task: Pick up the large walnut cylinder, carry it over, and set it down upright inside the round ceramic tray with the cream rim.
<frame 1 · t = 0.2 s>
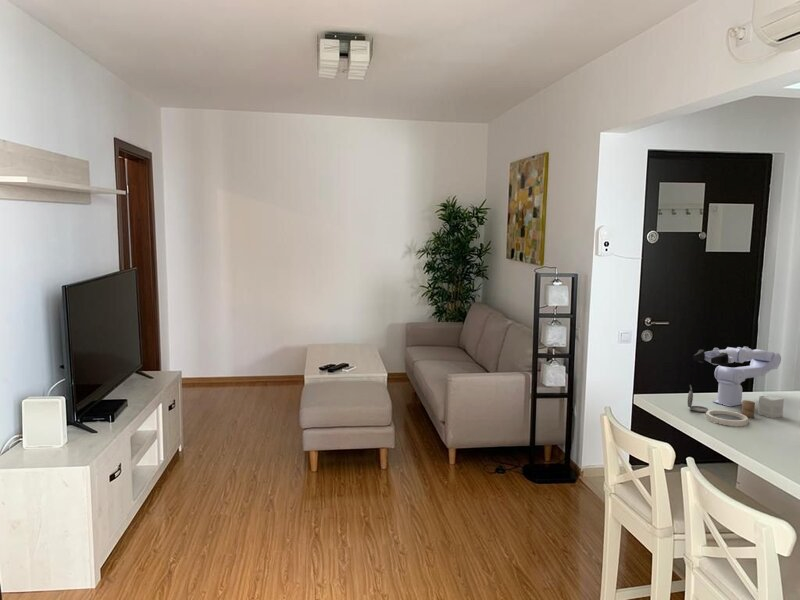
hand: (702, 359, 237), 21 cm above the breakfast bar, tool horizontal, fingers open, 7 cm apart
round tray: (726, 420, 227), on the breakfast bar
skincare box: (770, 415, 234), on the breakfast bar
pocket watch: (695, 410, 240), on the breakfast bar
walnut cylinder: (747, 416, 232), on the breakfast bar
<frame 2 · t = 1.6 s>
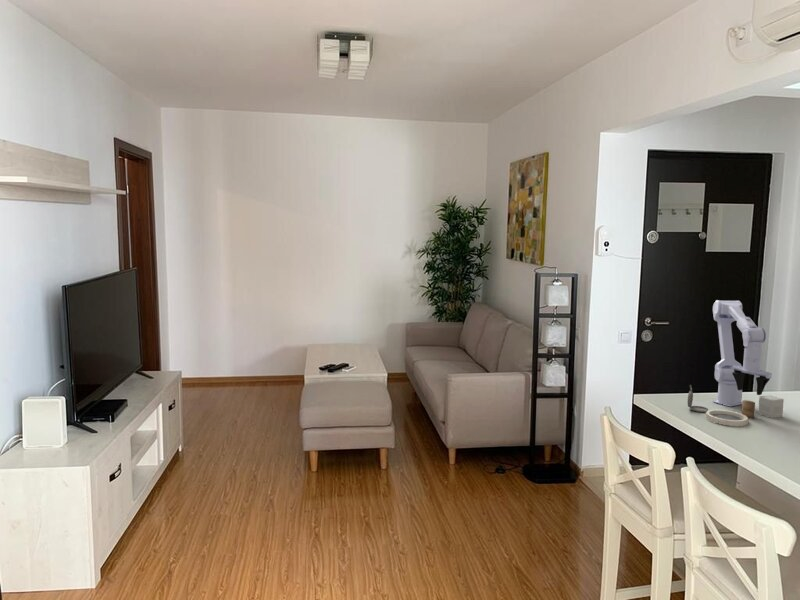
hand: (749, 392, 231), 10 cm above the breakfast bar, tool pointing down, fingers open, 7 cm apart
nothing on the breakfast bar moved.
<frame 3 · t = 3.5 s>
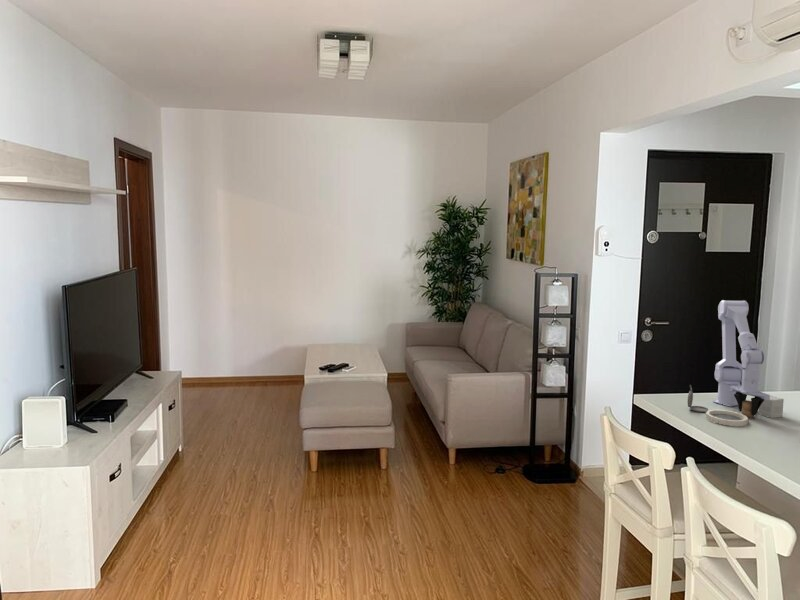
hand: (747, 413, 232), 1 cm above the breakfast bar, tool pointing down, fingers closed on walnut cylinder, 4 cm apart
walnut cylinder: (747, 416, 232), on the breakfast bar, touching gripper
everything else where it was.
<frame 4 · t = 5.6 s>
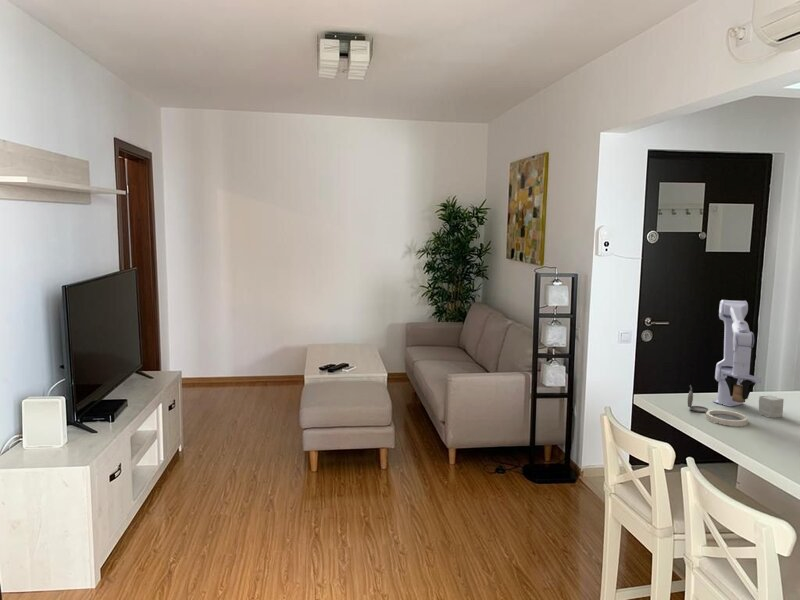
hand: (738, 397, 228), 9 cm above the breakfast bar, tool pointing down, fingers closed on walnut cylinder, 4 cm apart
walnut cylinder: (738, 400, 228), point 7 cm above the breakfast bar, touching gripper
everything else where it was.
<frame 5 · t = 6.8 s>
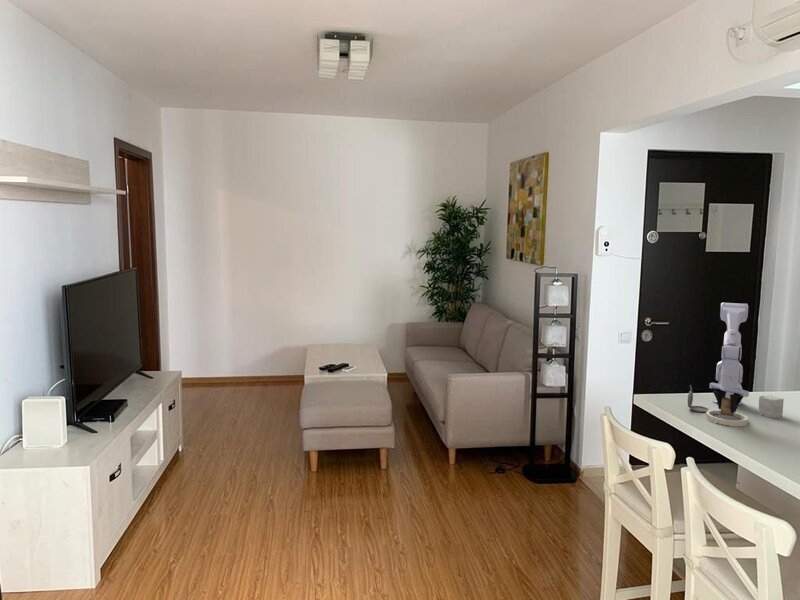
hand: (727, 410, 226), 4 cm above the breakfast bar, tool pointing down, fingers closed on walnut cylinder, 4 cm apart
walnut cylinder: (726, 414, 227), point 2 cm above the breakfast bar, touching gripper
everything else where it was.
when the fingers open (4 cm above the breakfast bar, at t = 7.7 s): walnut cylinder drops 1 cm, resting on round tray.
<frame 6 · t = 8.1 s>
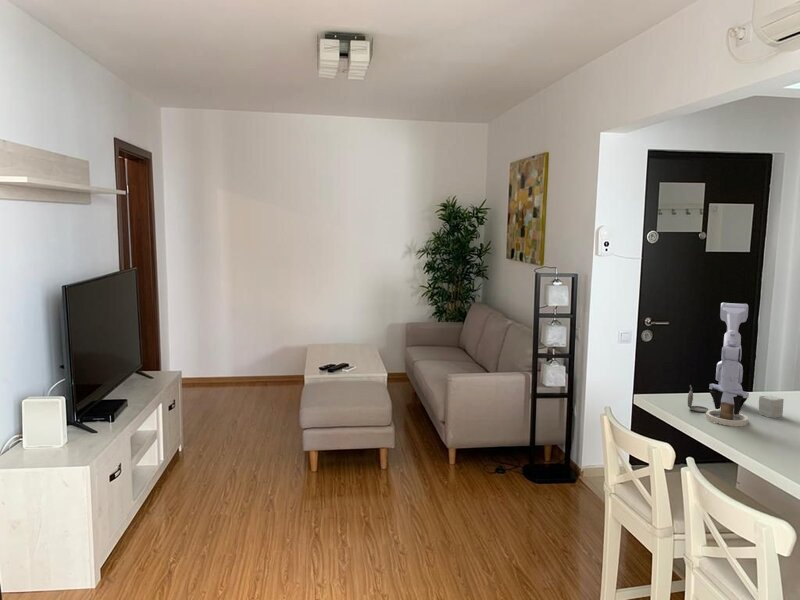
hand: (726, 411, 227), 4 cm above the breakfast bar, tool pointing down, fingers open, 7 cm apart
walnut cylinder: (726, 418, 227), point 1 cm above the breakfast bar, touching round tray
everything else where it was.
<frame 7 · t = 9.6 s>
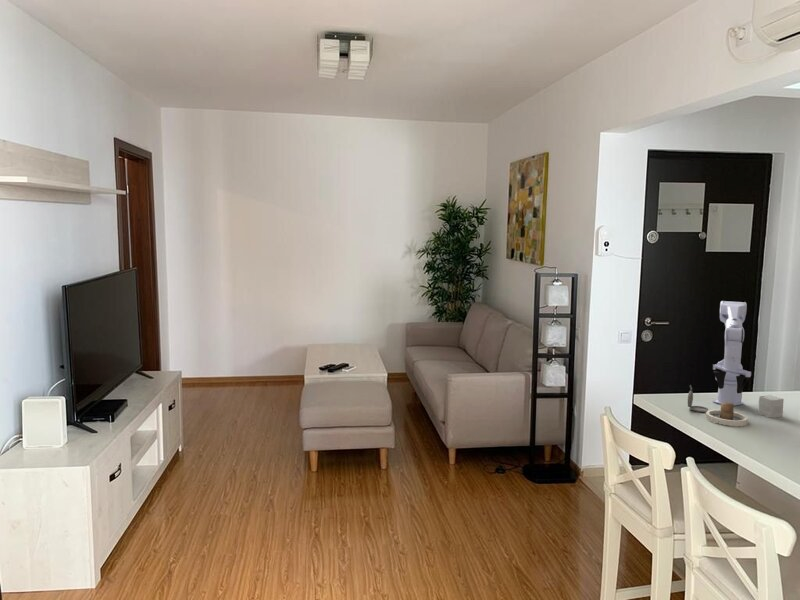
hand: (730, 390, 234), 9 cm above the breakfast bar, tool pointing down, fingers open, 7 cm apart
nothing on the breakfast bar moved.
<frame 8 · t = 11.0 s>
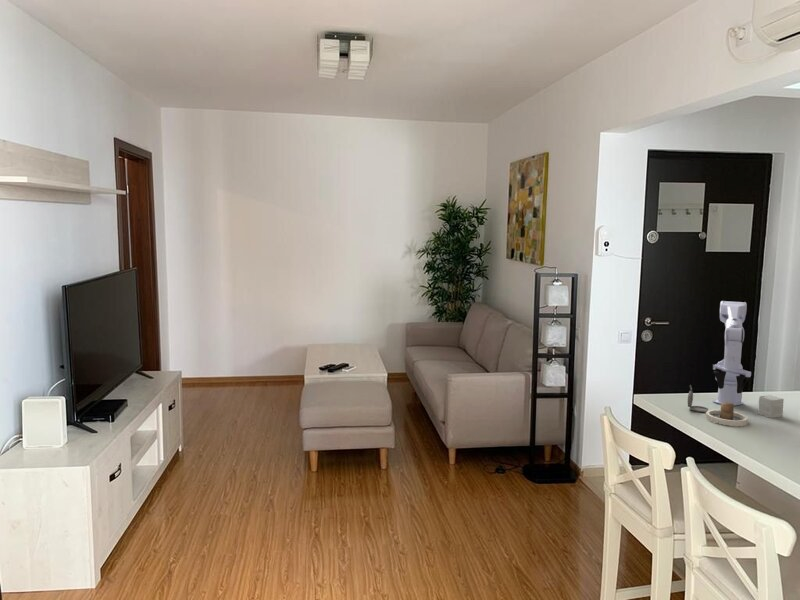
hand: (730, 390, 234), 9 cm above the breakfast bar, tool pointing down, fingers open, 7 cm apart
nothing on the breakfast bar moved.
at the end: walnut cylinder 0.0 cm off-centre on the round tray, point 0.6 cm above the round tray's base; walnut cylinder tilted 0°; the gripper is holding nothing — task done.
